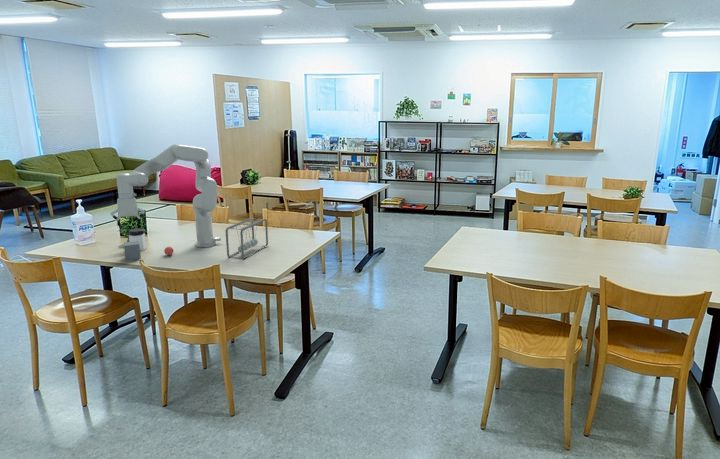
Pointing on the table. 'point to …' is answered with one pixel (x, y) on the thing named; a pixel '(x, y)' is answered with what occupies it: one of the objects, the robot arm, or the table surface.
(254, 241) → the newton's cradle
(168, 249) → the ball
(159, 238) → the table surface
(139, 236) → the jar
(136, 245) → the gray cube
